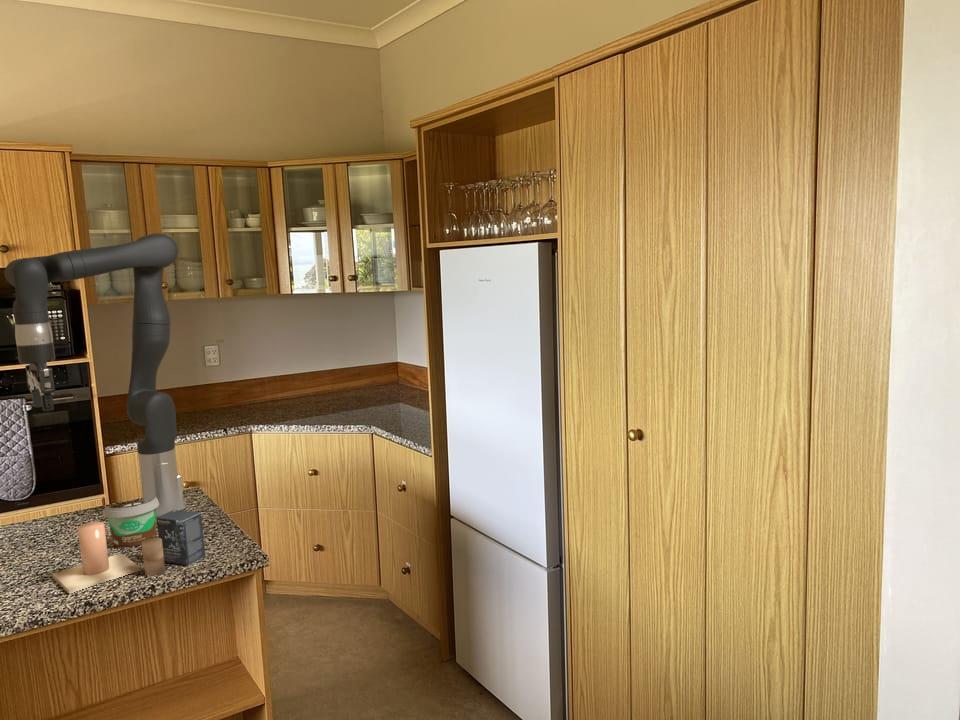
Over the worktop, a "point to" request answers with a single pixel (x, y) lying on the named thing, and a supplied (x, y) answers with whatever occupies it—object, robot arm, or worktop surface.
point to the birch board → (78, 580)
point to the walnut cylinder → (153, 556)
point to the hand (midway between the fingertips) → (43, 408)
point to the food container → (132, 522)
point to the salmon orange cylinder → (93, 548)
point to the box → (181, 536)
